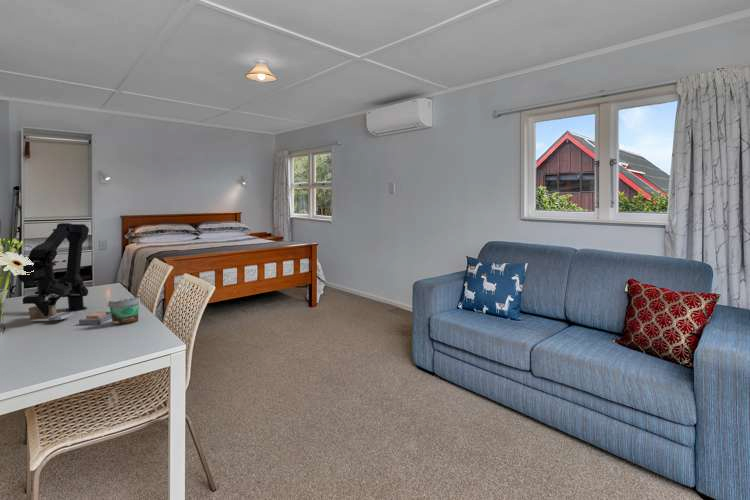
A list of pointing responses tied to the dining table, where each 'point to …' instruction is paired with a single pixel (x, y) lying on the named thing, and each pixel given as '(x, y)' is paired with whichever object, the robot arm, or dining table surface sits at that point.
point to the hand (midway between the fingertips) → (48, 315)
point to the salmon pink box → (96, 315)
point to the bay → (96, 320)
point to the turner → (52, 313)
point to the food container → (124, 311)
